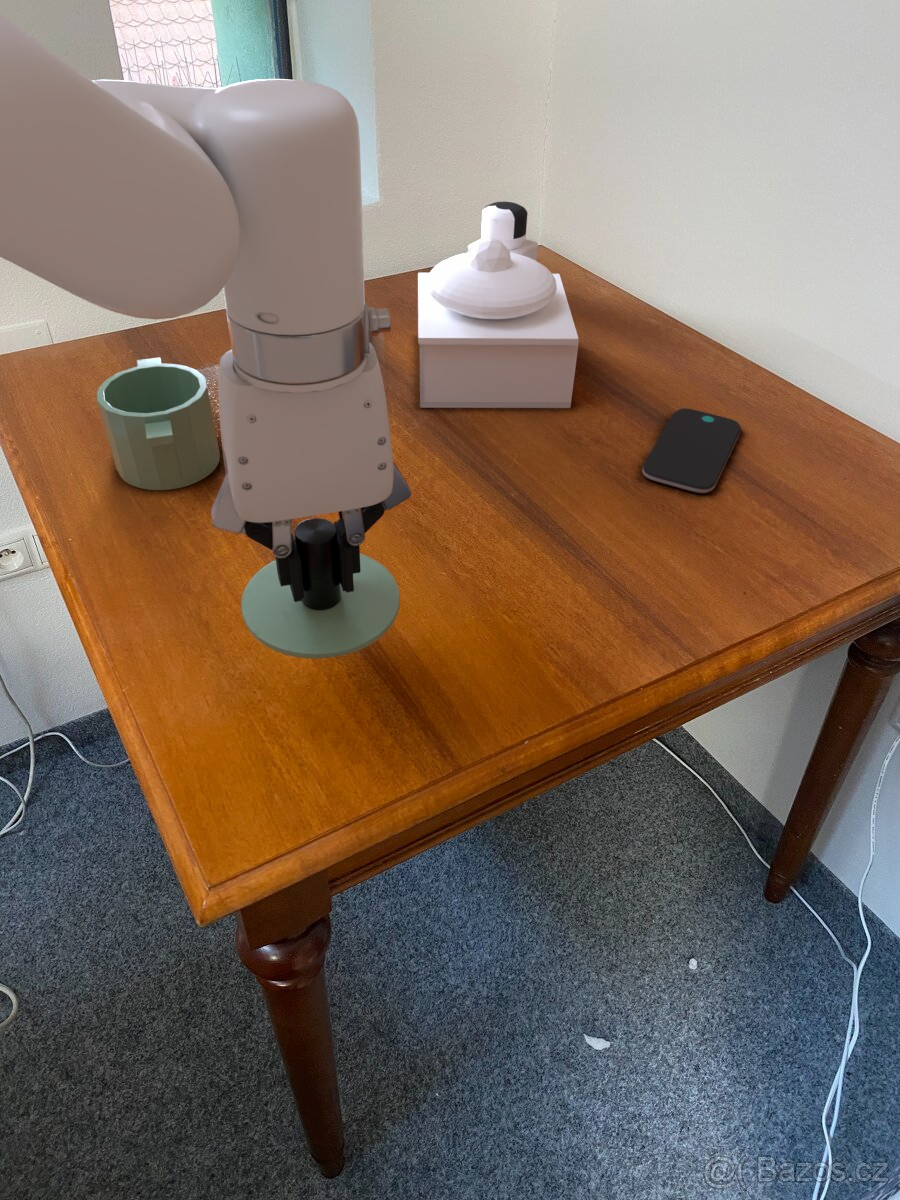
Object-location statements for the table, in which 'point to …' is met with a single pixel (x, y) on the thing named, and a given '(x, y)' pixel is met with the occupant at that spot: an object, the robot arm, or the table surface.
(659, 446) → the smartphone
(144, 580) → the table surface
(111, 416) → the pot
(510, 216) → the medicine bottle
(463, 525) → the table surface
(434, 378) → the white box
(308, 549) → the pot lid
